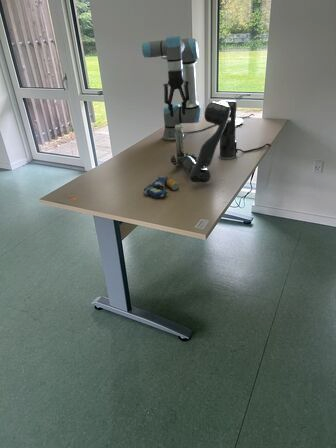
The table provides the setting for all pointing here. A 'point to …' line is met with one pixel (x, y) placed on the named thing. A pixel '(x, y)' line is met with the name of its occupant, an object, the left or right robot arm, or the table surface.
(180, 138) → the bottle
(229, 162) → the table surface
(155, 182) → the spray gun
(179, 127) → the cap
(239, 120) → the spoon
